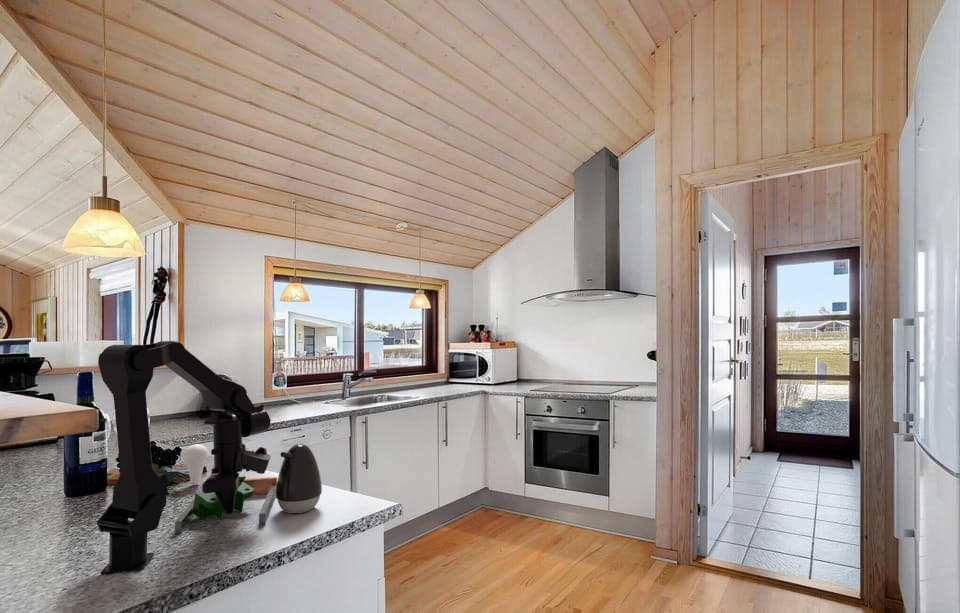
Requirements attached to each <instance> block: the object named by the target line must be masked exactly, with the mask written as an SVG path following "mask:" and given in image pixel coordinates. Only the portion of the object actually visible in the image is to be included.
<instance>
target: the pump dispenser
mask: <svg viewBox="0 0 960 613" xmlns="http://www.w3.org/2000/svg"><path fill="white" fill-rule="evenodd" d="M280 457H281V458H283V461H282V463H281V466H280V470H279V473H278V476H277V487H276V497H275V499H276V500H277V503H278V505H279V507H280V509H281V510H282V511H283V512H285V513H287V514H288V513H289V514H292V513H293V514H294V513H299V514H304V513H307V512H309V511H311V510H312V509H314V508H315V507H316V506H317V504H318V503H319V500H320V497H321V495H322V493H323V487H322V479H321V474H320V469H319V465H318V462H317V459H316V457H315V455H314V452H313V451H312V449H311V448H310V447H309V446H308V445H306V444H303V443H299V444H295V445H293V446H291V447H290V448H289V449H288V451H287V452H286V451H282V452H280ZM303 512H304V513H303ZM293 514H292V515H293ZM294 515H295V514H294Z"/></svg>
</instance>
